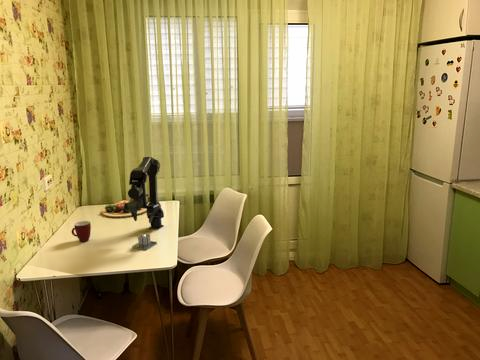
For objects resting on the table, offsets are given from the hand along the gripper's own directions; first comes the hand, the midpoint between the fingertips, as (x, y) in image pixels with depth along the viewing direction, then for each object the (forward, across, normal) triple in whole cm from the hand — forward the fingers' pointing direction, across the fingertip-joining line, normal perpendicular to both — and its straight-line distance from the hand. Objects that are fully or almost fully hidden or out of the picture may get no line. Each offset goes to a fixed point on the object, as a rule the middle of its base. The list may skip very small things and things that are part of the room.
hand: (143, 222), depth 207 cm
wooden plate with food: (+14, -47, +43) cm, 65 cm away
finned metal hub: (+11, +3, -4) cm, 12 cm away
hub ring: (+10, +3, -4) cm, 11 cm away
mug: (+12, -34, -10) cm, 37 cm away
